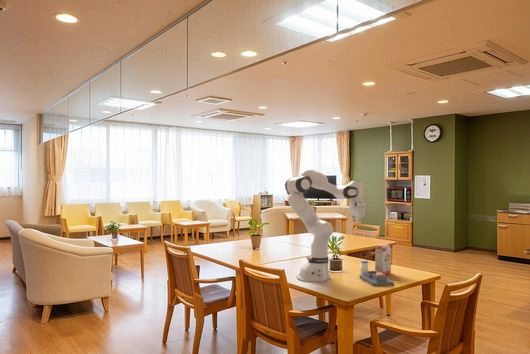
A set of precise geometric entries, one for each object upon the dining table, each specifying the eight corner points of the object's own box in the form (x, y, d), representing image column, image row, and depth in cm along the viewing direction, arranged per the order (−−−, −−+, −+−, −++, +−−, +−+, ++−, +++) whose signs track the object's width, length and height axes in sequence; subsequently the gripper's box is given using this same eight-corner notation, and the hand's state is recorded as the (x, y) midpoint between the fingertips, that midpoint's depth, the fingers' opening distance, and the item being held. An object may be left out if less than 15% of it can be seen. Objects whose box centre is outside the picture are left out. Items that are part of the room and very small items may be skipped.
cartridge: (362, 275, 266) (362, 261, 266) (359, 273, 272) (359, 260, 272) (369, 275, 267) (369, 261, 267) (366, 273, 272) (366, 260, 273)
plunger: (378, 280, 244) (377, 274, 244) (374, 278, 249) (374, 272, 249) (384, 279, 245) (384, 274, 245) (381, 277, 249) (381, 272, 249)
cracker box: (383, 277, 262) (383, 246, 262) (374, 275, 266) (374, 245, 266) (391, 273, 273) (391, 243, 273) (383, 271, 277) (383, 242, 277)
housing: (372, 286, 241) (372, 277, 241) (359, 278, 260) (359, 269, 260) (393, 285, 243) (393, 276, 243) (379, 277, 263) (379, 268, 263)
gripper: (347, 202, 287) (347, 221, 287) (358, 204, 267) (358, 224, 267) (355, 202, 288) (355, 221, 288) (366, 204, 268) (367, 224, 268)
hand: (356, 222), depth 277 cm, fingers open, 8 cm apart
